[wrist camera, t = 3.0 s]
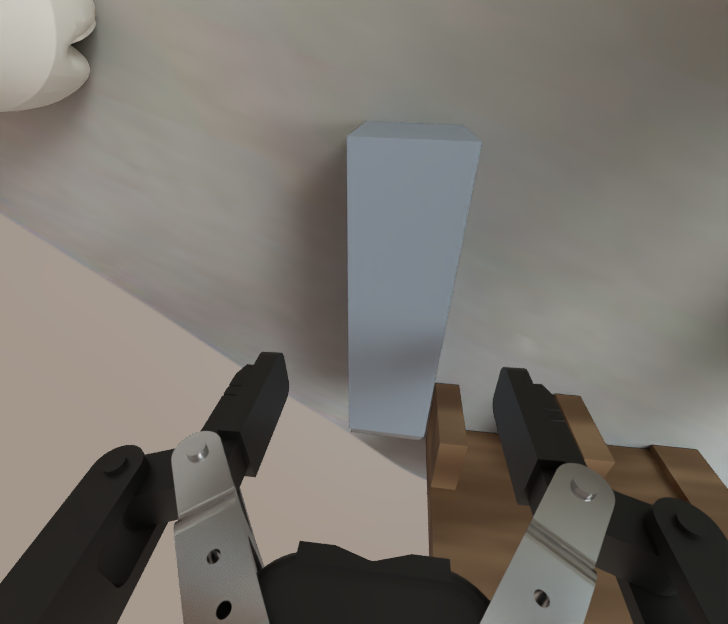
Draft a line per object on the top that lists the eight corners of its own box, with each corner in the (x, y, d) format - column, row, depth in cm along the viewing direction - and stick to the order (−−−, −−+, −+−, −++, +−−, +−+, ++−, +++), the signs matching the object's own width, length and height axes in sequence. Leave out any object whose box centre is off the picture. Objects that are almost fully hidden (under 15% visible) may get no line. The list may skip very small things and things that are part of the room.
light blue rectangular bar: (366, 121, 14) (346, 136, 10) (462, 124, 14) (482, 141, 10) (361, 369, 22) (348, 433, 18) (421, 375, 22) (422, 442, 18)
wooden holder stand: (435, 383, 22) (455, 662, 11) (734, 410, 20) (1089, 772, 10) (425, 445, 26) (432, 698, 15) (675, 472, 24) (882, 782, 13)
